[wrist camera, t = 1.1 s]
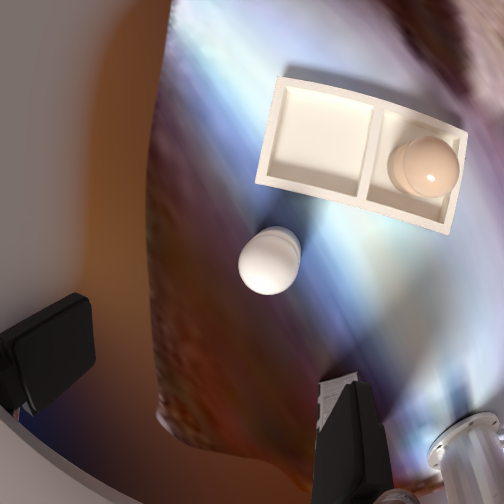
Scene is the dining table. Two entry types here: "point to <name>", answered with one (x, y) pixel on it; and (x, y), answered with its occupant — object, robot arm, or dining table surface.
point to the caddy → (350, 150)
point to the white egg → (270, 260)
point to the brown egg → (424, 167)
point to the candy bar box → (331, 397)
